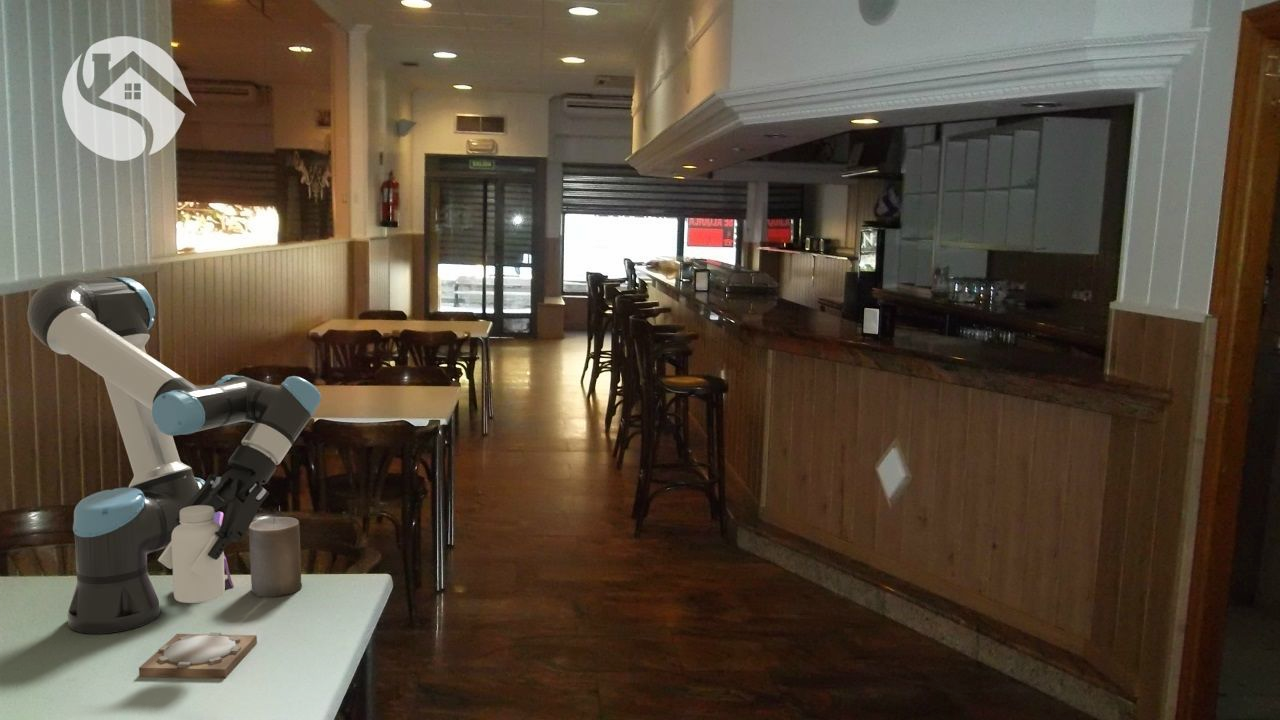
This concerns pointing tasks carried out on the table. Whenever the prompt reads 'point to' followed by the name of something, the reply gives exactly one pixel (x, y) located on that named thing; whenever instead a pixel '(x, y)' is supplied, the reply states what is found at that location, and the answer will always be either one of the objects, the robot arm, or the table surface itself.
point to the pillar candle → (275, 556)
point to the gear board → (198, 656)
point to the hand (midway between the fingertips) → (180, 569)
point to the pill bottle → (195, 556)
